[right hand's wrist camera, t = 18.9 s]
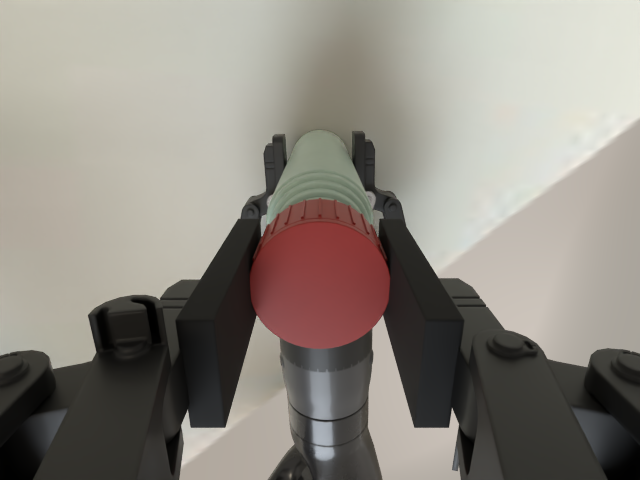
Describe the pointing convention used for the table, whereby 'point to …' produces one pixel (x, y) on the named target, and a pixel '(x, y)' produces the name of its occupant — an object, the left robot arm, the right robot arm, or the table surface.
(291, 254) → the cap
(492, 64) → the table surface
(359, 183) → the bottle
